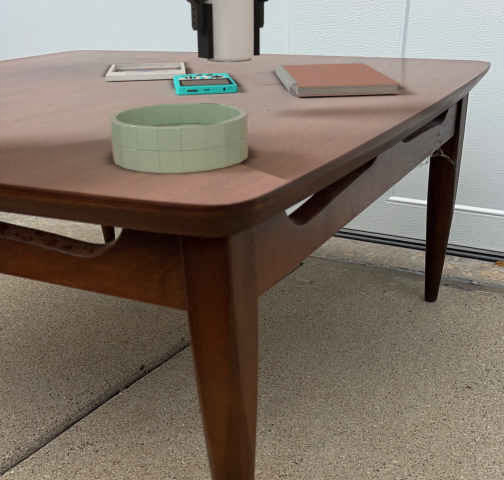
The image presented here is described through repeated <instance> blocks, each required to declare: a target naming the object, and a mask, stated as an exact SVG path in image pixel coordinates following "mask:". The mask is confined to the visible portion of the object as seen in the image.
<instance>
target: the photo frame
mask: <svg viewBox="0 0 504 480" xmlns="http://www.w3.org/2000/svg"><path fill="white" fill-rule="evenodd" d="M168 68H169V69H168ZM171 68H173V69H171ZM174 68H180V69H174ZM142 69H143V70H142ZM144 69H145V70H144ZM146 69H150V70H146ZM151 69H154V70H151ZM116 70H126V71H116ZM177 75H187V73H186V68H185V62H184V61H180V62H179V61H175V62H148V63H147V62H145V63H115V64H114V63H113V64H111V66H110V67H109V69H108V71H107V73H106V74H105V82H118V81H121V82H122V81H146V80H147V81H148V80H150V81H151V80H174V79H173V77H174V76H177Z"/></svg>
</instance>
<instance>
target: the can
mask: <svg viewBox="0 0 504 480" xmlns="http://www.w3.org/2000/svg"><path fill="white" fill-rule="evenodd" d="M205 3H209V4H212V14H213V52H214V59H206V60H207V61H208V62H212V63H213V62H214V63H242V62H249V61H252V59H253V58H254V0H206V1H205Z"/></svg>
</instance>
